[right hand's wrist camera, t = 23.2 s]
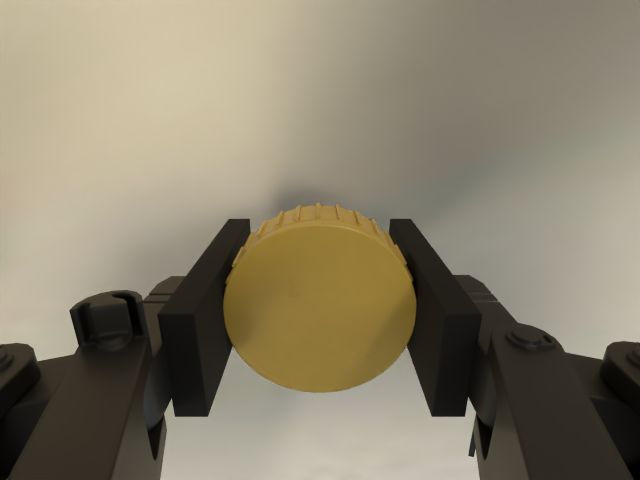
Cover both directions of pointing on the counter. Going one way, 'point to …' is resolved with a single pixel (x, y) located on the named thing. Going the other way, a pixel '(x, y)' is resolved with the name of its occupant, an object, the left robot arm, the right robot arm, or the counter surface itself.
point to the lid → (319, 300)
